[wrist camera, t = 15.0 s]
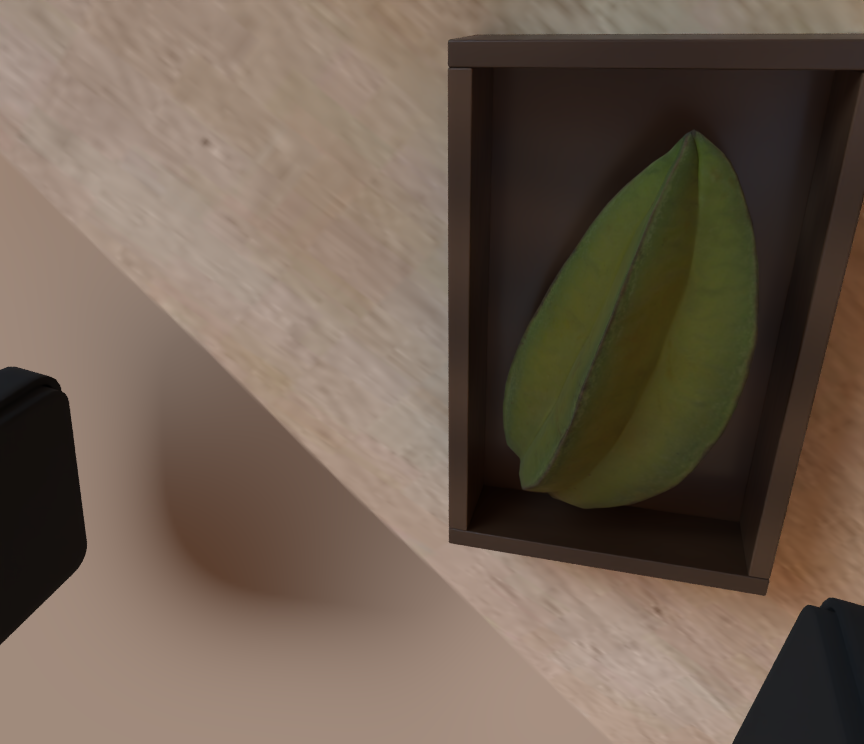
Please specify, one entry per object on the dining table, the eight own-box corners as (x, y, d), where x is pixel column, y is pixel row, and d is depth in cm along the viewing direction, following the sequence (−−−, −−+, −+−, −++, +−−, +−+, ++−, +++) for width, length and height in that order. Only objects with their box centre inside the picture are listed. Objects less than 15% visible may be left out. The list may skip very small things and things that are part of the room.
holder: (475, 34, 26) (447, 39, 23) (866, 33, 23) (903, 38, 20) (469, 488, 35) (448, 543, 32) (754, 530, 32) (766, 596, 29)
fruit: (863, 475, 25) (801, 356, 30) (753, 174, 19) (700, 91, 24) (549, 568, 29) (542, 449, 34) (378, 346, 23) (402, 244, 28)
